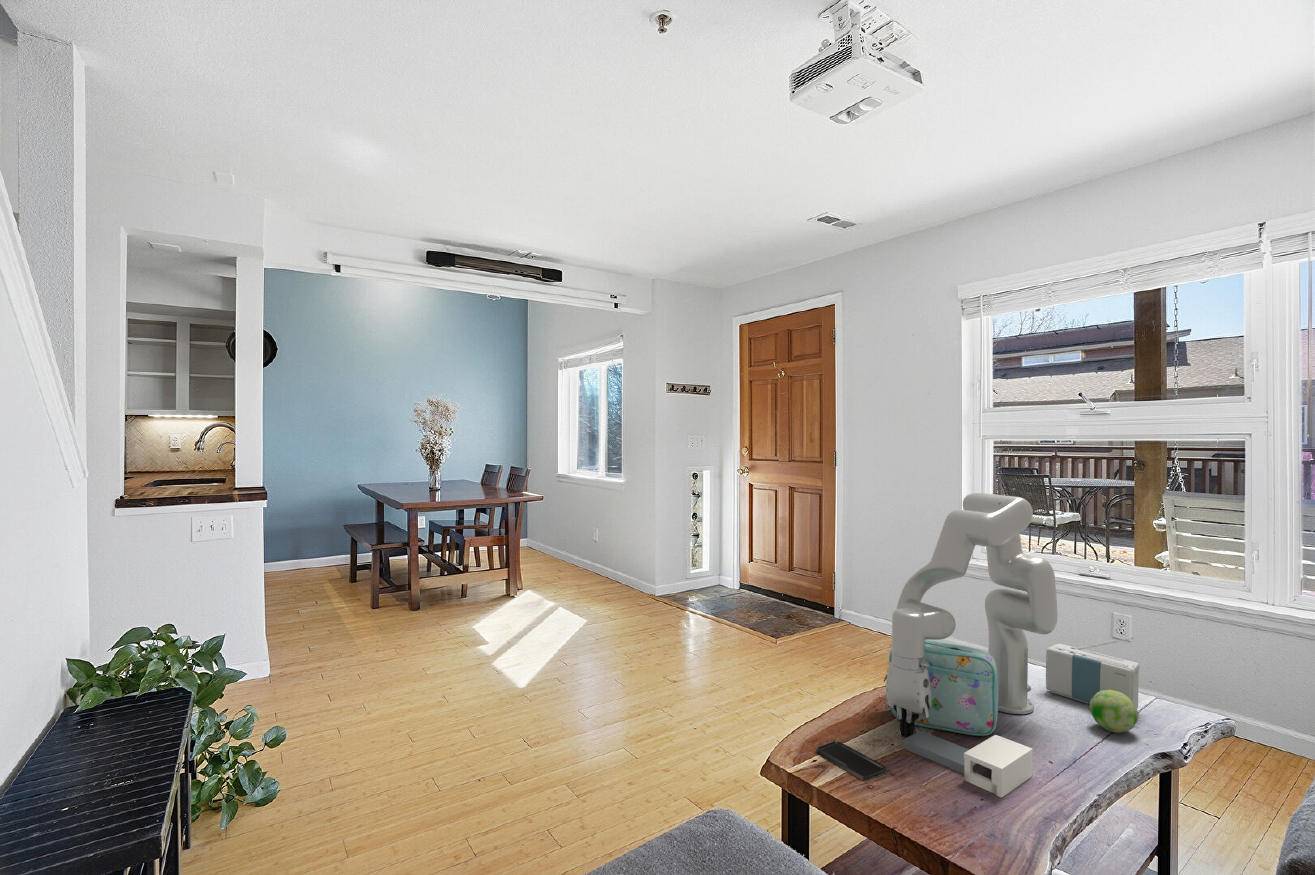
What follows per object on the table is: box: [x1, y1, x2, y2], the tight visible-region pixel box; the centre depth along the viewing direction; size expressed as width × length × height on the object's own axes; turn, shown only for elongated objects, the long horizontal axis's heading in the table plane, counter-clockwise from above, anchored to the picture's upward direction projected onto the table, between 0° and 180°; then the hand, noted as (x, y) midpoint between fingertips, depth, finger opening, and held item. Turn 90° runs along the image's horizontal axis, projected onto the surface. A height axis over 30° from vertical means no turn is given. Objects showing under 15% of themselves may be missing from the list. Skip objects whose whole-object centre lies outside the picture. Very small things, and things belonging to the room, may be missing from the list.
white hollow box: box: [963, 734, 1034, 799], centre depth 140 cm, size 14×8×6 cm, turn 127°
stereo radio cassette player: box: [1045, 636, 1141, 709], centre depth 179 cm, size 21×8×20 cm, turn 36°
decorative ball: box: [1089, 690, 1139, 734], centre depth 162 cm, size 10×10×10 cm
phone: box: [815, 740, 888, 782], centre depth 146 cm, size 8×1×15 cm
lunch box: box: [883, 639, 999, 737], centre depth 165 cm, size 27×10×21 cm, turn 62°
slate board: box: [902, 730, 986, 775], centre depth 149 cm, size 8×16×2 cm, turn 38°
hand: (907, 735), depth 157 cm, fingers closed
